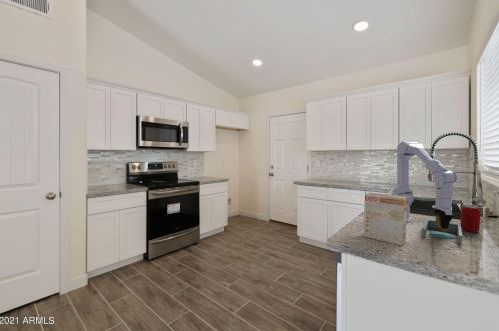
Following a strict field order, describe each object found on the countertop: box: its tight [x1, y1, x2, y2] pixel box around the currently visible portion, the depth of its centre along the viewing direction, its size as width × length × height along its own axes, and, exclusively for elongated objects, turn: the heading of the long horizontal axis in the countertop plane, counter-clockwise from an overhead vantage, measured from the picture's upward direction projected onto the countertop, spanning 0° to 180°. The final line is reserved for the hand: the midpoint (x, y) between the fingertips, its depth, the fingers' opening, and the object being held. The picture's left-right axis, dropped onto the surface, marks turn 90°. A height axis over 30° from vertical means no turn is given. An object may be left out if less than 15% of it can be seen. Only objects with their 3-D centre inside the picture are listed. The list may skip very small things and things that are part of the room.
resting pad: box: [429, 230, 456, 240], centre depth 106 cm, size 9×9×1 cm
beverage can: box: [460, 204, 482, 234], centre depth 112 cm, size 7×7×12 cm
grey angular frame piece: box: [421, 218, 463, 246], centre depth 106 cm, size 20×13×4 cm, turn 139°
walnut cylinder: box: [435, 215, 449, 234], centre depth 106 cm, size 4×4×7 cm
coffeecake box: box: [363, 192, 407, 247], centre depth 101 cm, size 15×7×20 cm, turn 45°
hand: (442, 226), depth 106 cm, fingers closed on walnut cylinder, 4 cm apart
